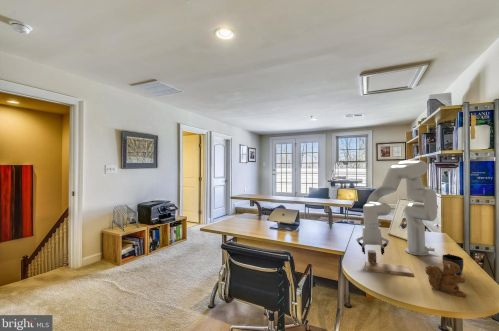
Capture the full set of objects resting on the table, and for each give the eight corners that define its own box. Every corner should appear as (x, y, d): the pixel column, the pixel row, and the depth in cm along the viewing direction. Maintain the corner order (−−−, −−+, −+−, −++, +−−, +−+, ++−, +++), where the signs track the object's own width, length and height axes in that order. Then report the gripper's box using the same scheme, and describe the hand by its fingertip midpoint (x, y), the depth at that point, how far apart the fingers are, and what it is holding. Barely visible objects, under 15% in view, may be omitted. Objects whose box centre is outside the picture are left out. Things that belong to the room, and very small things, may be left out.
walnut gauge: (375, 262, 143) (375, 250, 143) (378, 269, 134) (377, 256, 134) (368, 261, 145) (367, 249, 145) (370, 268, 135) (369, 256, 135)
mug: (459, 271, 128) (459, 253, 128) (465, 281, 118) (465, 261, 118) (440, 268, 132) (439, 251, 132) (444, 277, 122) (443, 258, 122)
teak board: (409, 268, 133) (408, 266, 133) (413, 276, 125) (413, 273, 125) (365, 264, 141) (365, 261, 141) (367, 271, 132) (366, 268, 132)
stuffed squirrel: (468, 298, 103) (467, 268, 103) (428, 291, 110) (427, 262, 110) (462, 287, 112) (461, 259, 112) (424, 281, 119) (423, 255, 119)
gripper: (386, 223, 143) (388, 252, 143) (354, 223, 149) (356, 250, 149) (389, 227, 136) (391, 257, 136) (355, 226, 142) (357, 255, 142)
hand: (373, 253), depth 142 cm, fingers open, 9 cm apart
